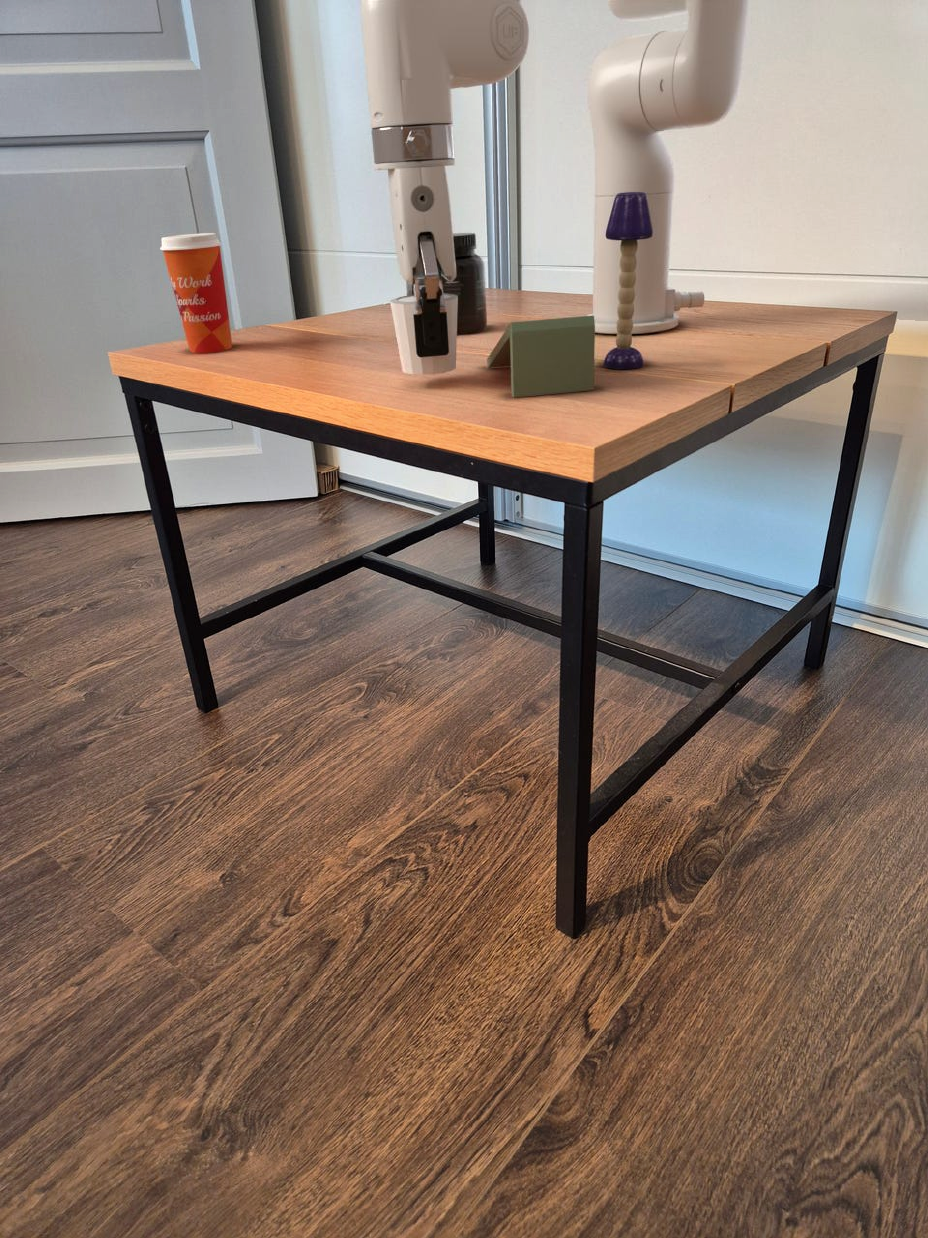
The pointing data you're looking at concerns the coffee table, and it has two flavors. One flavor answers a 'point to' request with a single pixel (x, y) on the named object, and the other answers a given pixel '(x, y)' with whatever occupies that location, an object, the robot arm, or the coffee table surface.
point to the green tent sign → (548, 355)
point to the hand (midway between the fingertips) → (428, 347)
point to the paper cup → (199, 290)
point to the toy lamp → (627, 271)
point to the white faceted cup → (406, 337)
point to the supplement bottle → (468, 285)
